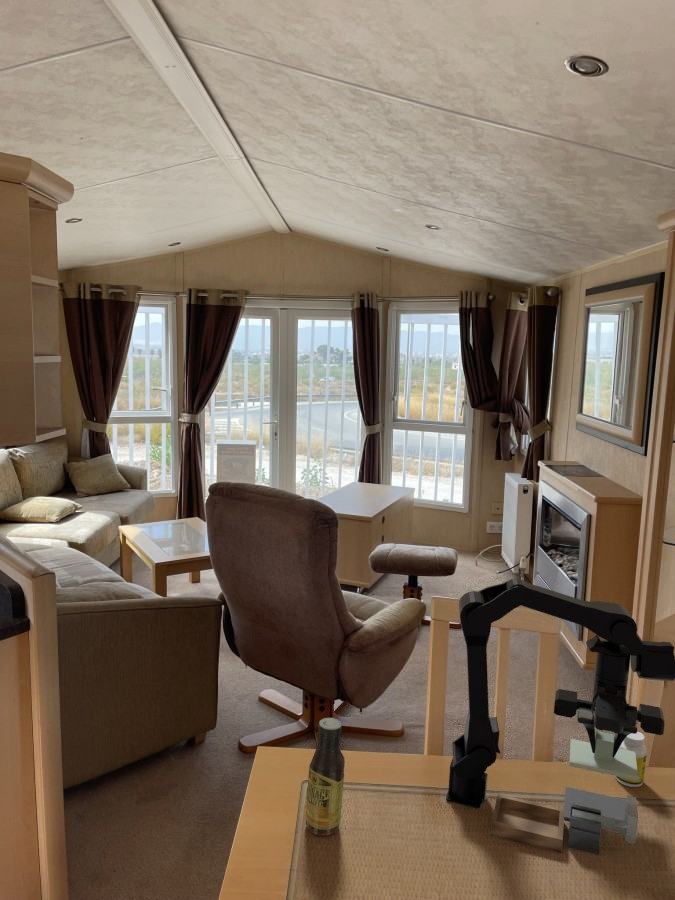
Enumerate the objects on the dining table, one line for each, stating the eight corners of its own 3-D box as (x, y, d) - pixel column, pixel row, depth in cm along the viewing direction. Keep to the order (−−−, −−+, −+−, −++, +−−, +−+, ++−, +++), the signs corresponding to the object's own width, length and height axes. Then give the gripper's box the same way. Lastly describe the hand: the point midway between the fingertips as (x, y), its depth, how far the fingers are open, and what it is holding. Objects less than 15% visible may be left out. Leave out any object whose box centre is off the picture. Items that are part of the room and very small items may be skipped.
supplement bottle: (645, 790, 145) (651, 744, 143) (616, 785, 146) (621, 739, 145) (640, 774, 150) (645, 729, 149) (612, 770, 151) (617, 726, 150)
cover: (569, 766, 134) (571, 741, 133) (570, 742, 142) (572, 719, 141) (637, 780, 130) (640, 755, 130) (634, 755, 138) (637, 732, 138)
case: (490, 835, 129) (491, 822, 129) (496, 806, 138) (497, 793, 137) (561, 853, 126) (562, 840, 125) (563, 821, 134) (564, 809, 134)
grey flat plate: (563, 818, 135) (563, 816, 135) (565, 788, 144) (565, 786, 144) (633, 835, 131) (633, 832, 131) (630, 802, 141) (631, 800, 141)
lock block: (567, 847, 127) (570, 819, 126) (568, 829, 132) (571, 802, 131) (598, 855, 126) (601, 826, 125) (598, 836, 130) (601, 809, 130)
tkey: (571, 828, 126) (573, 803, 125) (572, 808, 132) (574, 783, 131) (635, 844, 123) (638, 817, 122) (633, 822, 128) (636, 797, 128)
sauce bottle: (297, 826, 130) (301, 721, 127) (322, 811, 134) (326, 709, 131) (324, 844, 125) (329, 736, 122) (349, 828, 130) (354, 722, 127)
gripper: (556, 683, 129) (548, 765, 131) (671, 704, 123) (661, 790, 126) (558, 658, 140) (551, 735, 142) (665, 677, 134) (656, 756, 136)
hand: (603, 754), depth 136 cm, fingers closed on cover, 3 cm apart
